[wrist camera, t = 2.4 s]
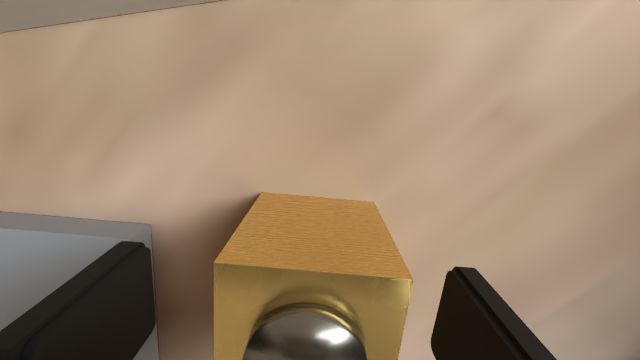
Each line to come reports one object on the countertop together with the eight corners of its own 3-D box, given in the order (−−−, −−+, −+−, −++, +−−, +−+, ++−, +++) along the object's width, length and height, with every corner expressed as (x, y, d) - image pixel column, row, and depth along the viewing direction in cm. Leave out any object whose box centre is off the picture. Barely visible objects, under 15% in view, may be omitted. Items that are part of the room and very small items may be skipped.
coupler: (359, 298, 14) (388, 452, 8) (258, 289, 14) (205, 438, 8) (373, 201, 13) (420, 294, 7) (261, 191, 13) (204, 276, 7)
